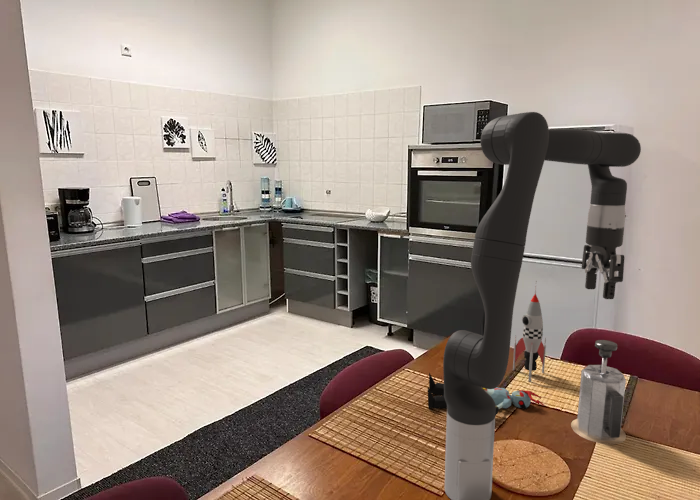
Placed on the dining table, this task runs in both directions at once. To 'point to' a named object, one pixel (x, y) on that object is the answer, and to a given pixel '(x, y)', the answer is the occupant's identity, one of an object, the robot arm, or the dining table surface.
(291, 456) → the dining table surface
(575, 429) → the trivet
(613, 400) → the french press
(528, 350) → the toy
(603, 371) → the plunger
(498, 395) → the toy
